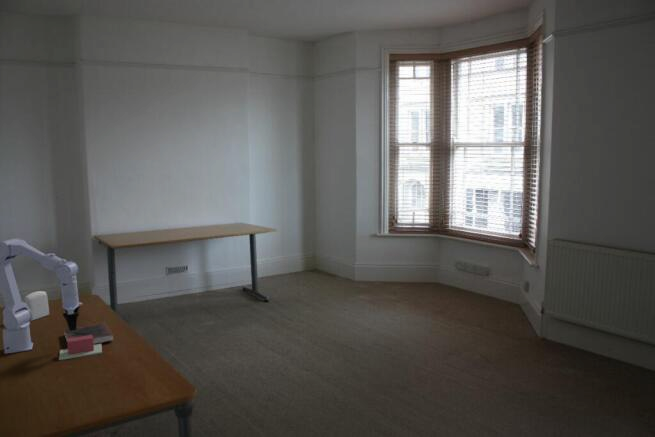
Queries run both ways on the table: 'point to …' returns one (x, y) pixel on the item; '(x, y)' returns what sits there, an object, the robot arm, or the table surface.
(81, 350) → the card box
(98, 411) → the table surface
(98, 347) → the sage mat
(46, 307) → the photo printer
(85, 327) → the picture frame
